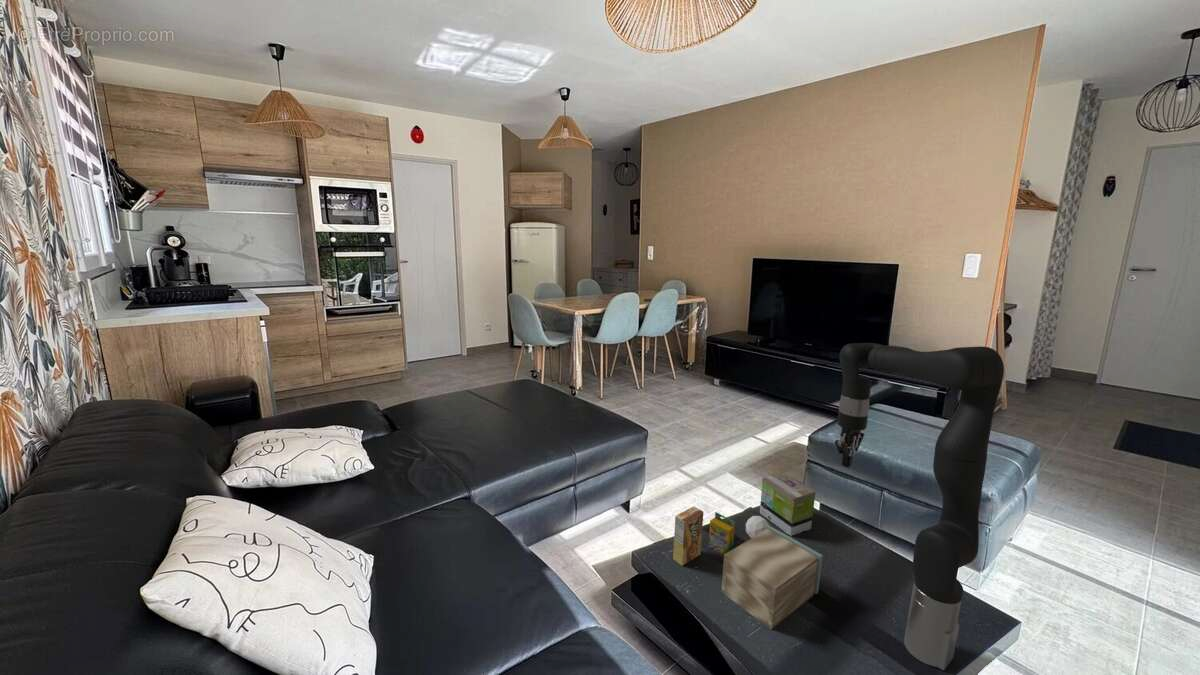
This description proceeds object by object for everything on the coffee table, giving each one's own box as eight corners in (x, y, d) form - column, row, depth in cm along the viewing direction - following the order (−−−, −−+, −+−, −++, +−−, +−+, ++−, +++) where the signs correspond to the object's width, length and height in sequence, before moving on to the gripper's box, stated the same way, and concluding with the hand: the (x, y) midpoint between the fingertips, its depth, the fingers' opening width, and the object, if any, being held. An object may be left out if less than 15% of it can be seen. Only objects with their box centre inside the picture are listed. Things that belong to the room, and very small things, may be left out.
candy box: (691, 548, 151) (693, 505, 148) (701, 554, 148) (704, 511, 145) (672, 559, 146) (674, 515, 143) (682, 566, 143) (685, 521, 139)
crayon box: (707, 547, 152) (709, 515, 149) (713, 543, 154) (715, 511, 151) (727, 558, 147) (730, 525, 144) (732, 554, 149) (735, 521, 146)
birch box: (813, 595, 132) (818, 557, 129) (771, 629, 120) (775, 588, 118) (764, 563, 144) (767, 528, 142) (721, 592, 133) (724, 554, 130)
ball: (761, 543, 158) (777, 527, 157) (756, 548, 151) (773, 531, 150) (743, 525, 162) (759, 509, 160) (738, 529, 155) (754, 512, 154)
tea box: (758, 513, 170) (761, 476, 167) (779, 507, 175) (782, 471, 172) (790, 537, 157) (794, 497, 154) (812, 530, 161) (816, 490, 158)
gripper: (855, 419, 129) (848, 477, 132) (877, 409, 136) (870, 464, 140) (828, 411, 135) (822, 467, 138) (851, 402, 142) (844, 455, 146)
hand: (846, 466), depth 139 cm, fingers closed
